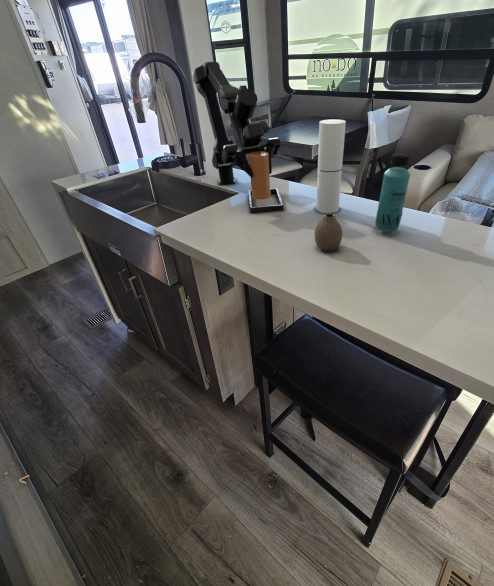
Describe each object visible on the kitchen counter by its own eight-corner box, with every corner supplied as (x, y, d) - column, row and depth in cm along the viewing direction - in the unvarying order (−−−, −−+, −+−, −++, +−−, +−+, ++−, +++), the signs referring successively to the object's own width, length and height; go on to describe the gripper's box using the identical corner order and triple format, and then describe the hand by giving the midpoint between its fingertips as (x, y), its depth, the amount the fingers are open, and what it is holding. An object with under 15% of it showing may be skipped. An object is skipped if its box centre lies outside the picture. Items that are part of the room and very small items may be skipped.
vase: (325, 238, 84) (327, 207, 79) (346, 246, 80) (350, 214, 75) (308, 248, 80) (309, 216, 75) (329, 257, 76) (332, 223, 71)
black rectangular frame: (248, 195, 113) (248, 190, 112) (277, 193, 114) (277, 188, 113) (250, 213, 100) (250, 207, 99) (283, 210, 101) (283, 205, 100)
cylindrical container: (328, 215, 96) (333, 124, 81) (311, 209, 101) (314, 122, 86) (343, 208, 100) (351, 120, 85) (326, 203, 104) (331, 118, 89)
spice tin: (252, 193, 103) (248, 151, 95) (270, 192, 104) (267, 150, 96) (252, 200, 99) (248, 156, 91) (271, 199, 99) (268, 155, 91)
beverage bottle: (369, 229, 87) (380, 153, 75) (387, 224, 89) (401, 149, 77) (384, 238, 83) (399, 159, 70) (403, 233, 85) (421, 155, 73)
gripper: (218, 114, 86) (238, 165, 85) (278, 107, 93) (297, 154, 92) (214, 140, 96) (231, 185, 95) (267, 132, 103) (284, 175, 102)
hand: (261, 175), depth 96 cm, fingers closed on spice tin, 6 cm apart
